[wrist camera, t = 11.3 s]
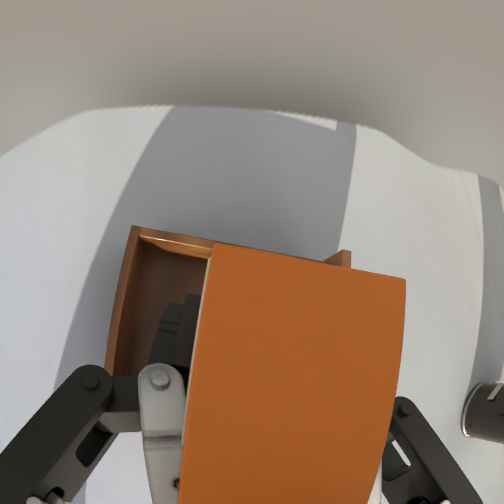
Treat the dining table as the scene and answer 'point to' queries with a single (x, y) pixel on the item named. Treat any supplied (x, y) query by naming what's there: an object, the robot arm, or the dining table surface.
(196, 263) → the drawer
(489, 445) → the dining table surface
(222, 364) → the packet
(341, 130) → the dining table surface
